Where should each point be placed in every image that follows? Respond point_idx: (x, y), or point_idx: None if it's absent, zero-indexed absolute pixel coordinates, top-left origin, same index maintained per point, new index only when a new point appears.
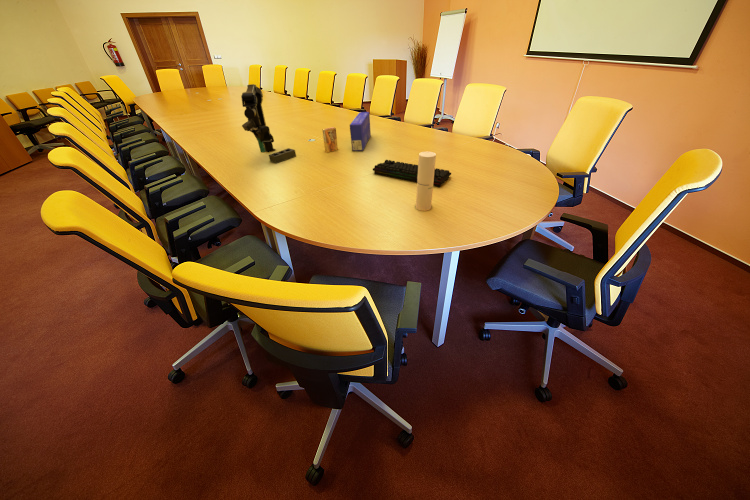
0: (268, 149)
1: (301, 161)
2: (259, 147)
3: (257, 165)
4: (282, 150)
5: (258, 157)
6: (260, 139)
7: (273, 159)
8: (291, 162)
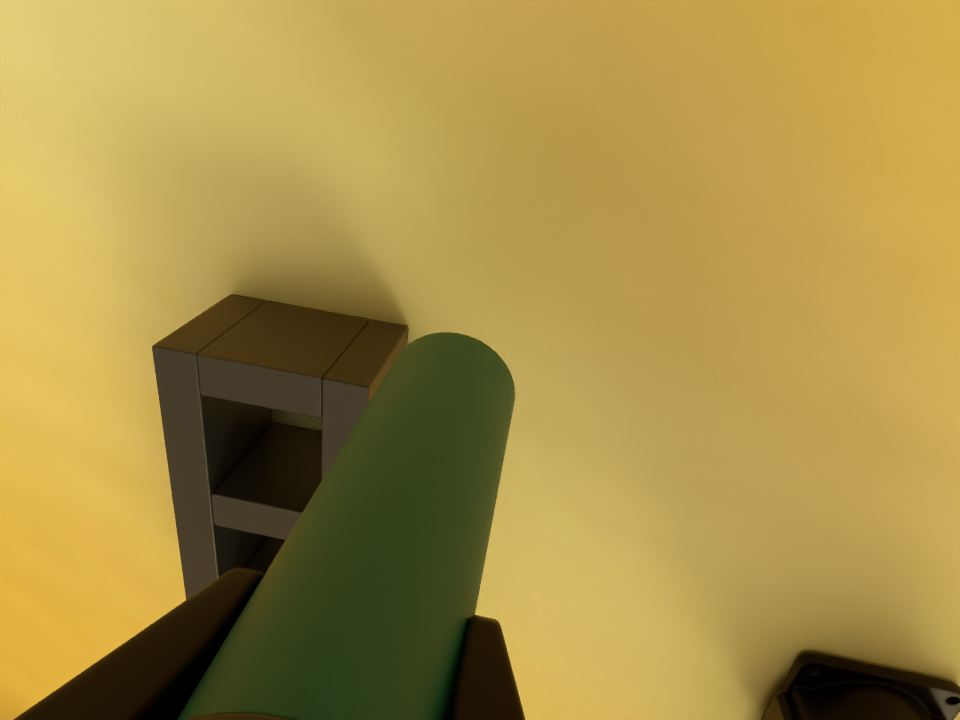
0: (830, 713)
1: (11, 490)
2: (464, 414)
3: (474, 38)
4: None
5: (827, 422)
6: (123, 658)
7: (252, 329)
8: (78, 418)
